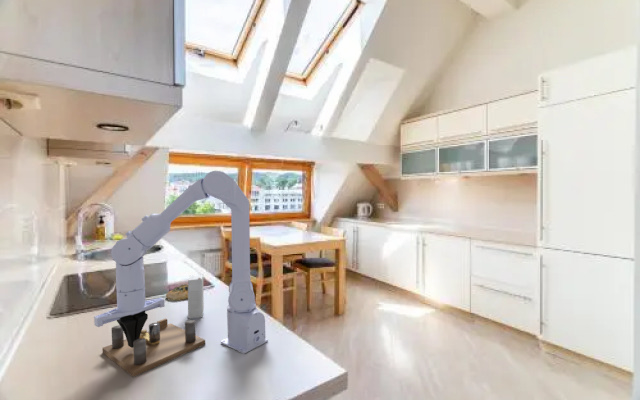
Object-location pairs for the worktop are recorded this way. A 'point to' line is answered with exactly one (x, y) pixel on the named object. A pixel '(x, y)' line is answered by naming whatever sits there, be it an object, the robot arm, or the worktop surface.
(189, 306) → the skincare box
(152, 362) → the seat board
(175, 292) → the bread roll
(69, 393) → the worktop surface
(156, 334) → the bar
